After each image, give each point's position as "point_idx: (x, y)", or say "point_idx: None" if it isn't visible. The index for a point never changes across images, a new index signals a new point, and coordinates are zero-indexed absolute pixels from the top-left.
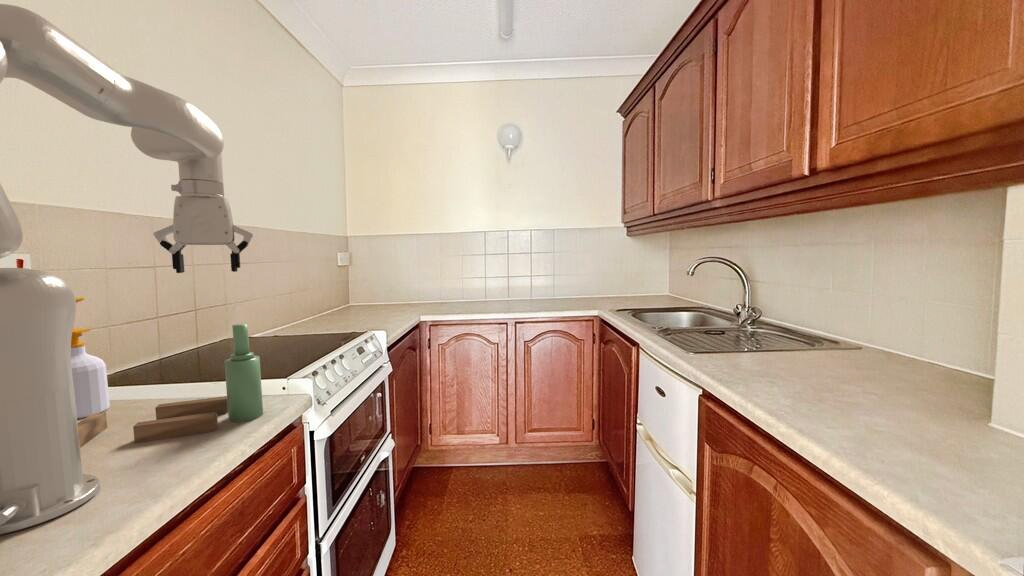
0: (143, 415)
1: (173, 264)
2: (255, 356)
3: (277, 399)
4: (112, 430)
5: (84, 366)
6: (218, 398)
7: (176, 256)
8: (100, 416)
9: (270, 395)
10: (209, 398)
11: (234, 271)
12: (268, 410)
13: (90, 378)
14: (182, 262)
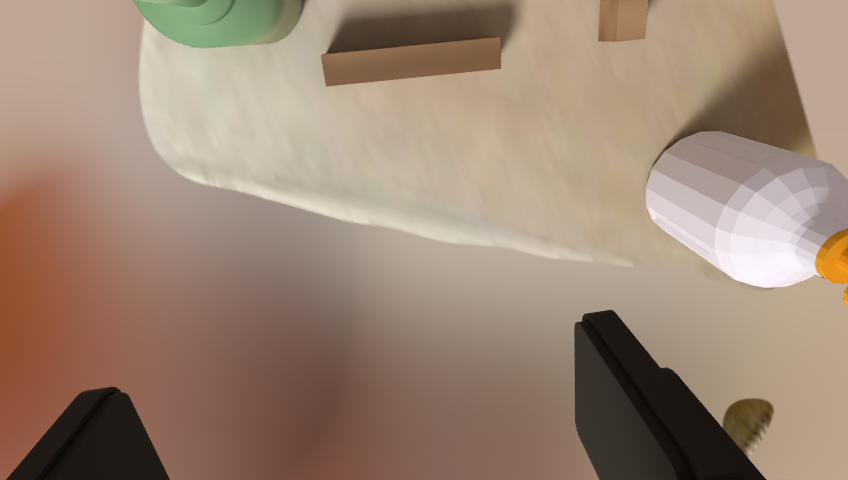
0: (544, 112)
1: (681, 391)
2: (154, 12)
3: (221, 133)
4: (577, 9)
5: (760, 187)
6: (347, 66)
7: (697, 439)
8: (617, 9)
9: (258, 180)
10: (375, 77)
11: (99, 389)
12: None
13: (721, 180)
14: (616, 472)
